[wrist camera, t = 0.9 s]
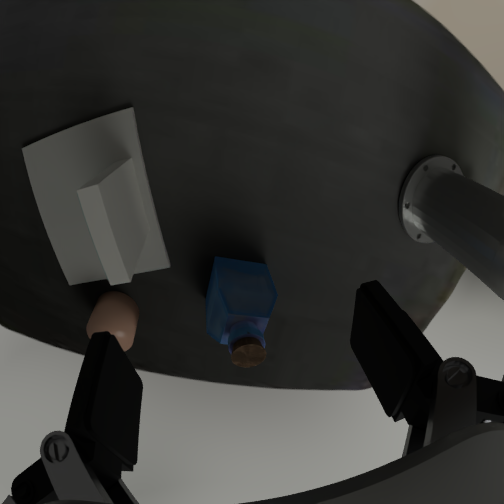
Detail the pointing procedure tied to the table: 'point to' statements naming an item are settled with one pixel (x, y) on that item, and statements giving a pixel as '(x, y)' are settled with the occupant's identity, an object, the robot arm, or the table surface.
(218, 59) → the table surface
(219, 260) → the perfume bottle
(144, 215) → the tile
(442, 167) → the robot arm
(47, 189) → the mat
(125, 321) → the brown rounded cylinder
